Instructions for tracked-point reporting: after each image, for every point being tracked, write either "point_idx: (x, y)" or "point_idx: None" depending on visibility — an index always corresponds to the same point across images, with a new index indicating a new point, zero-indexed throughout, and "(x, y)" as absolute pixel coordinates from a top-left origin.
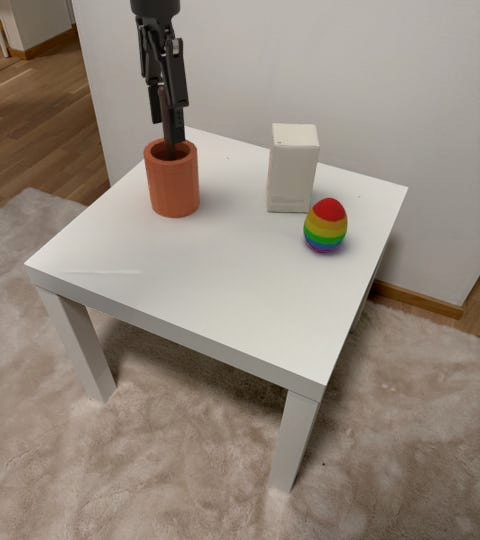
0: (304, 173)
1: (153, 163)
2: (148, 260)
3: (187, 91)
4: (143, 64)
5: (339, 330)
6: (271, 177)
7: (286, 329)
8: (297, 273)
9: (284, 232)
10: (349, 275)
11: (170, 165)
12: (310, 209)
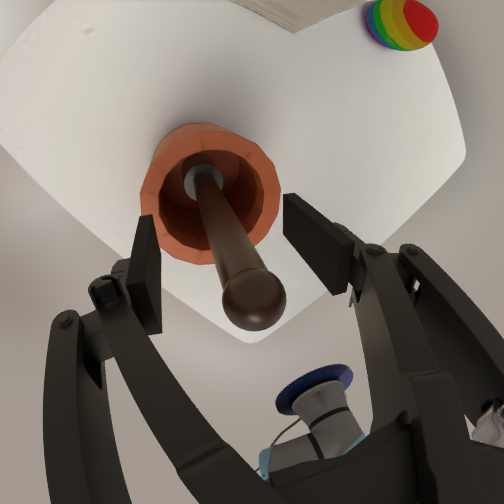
0: None
1: None
2: None
3: (444, 272)
4: (108, 401)
5: (455, 112)
6: (329, 16)
7: (440, 149)
8: (406, 89)
9: (345, 46)
10: (424, 49)
11: (274, 218)
12: (404, 30)
